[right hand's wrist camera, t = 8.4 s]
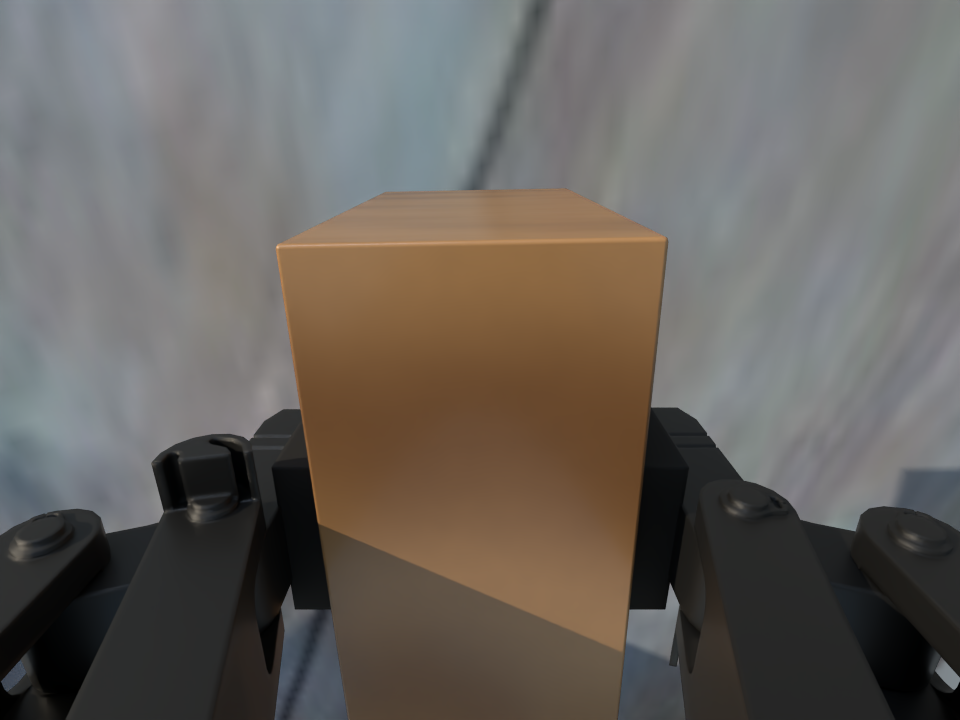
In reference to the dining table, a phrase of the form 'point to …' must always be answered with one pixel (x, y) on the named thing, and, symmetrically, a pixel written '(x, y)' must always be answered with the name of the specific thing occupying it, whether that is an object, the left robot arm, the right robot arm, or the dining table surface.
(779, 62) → the dining table surface
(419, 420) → the post
